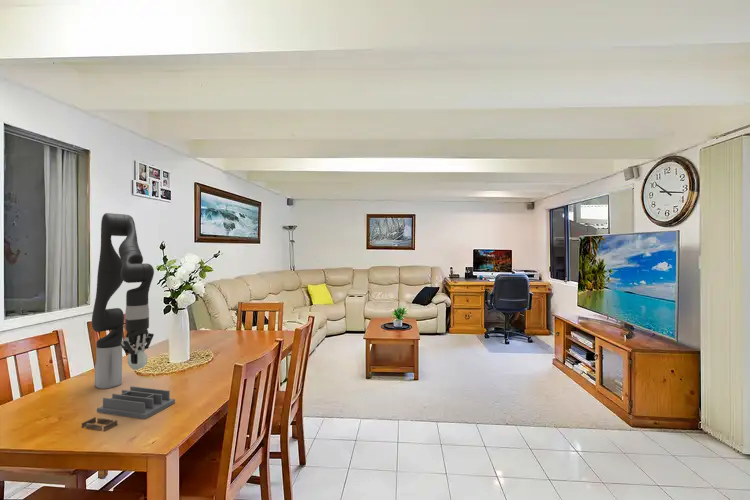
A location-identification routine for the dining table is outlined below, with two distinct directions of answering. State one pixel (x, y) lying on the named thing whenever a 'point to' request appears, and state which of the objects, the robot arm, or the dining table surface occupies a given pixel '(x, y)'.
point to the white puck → (138, 360)
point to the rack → (137, 402)
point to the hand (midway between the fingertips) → (137, 362)
